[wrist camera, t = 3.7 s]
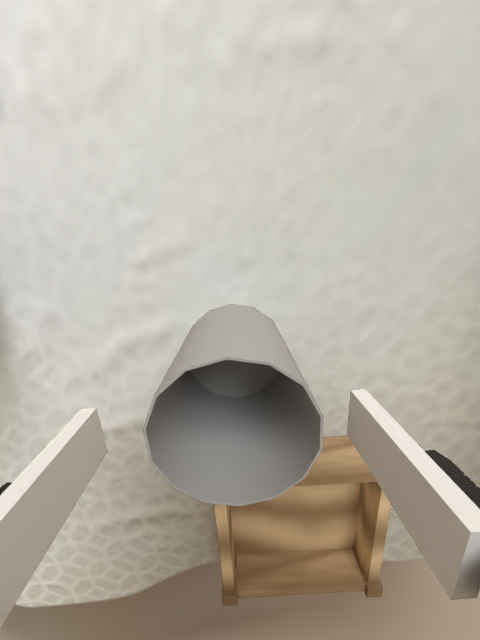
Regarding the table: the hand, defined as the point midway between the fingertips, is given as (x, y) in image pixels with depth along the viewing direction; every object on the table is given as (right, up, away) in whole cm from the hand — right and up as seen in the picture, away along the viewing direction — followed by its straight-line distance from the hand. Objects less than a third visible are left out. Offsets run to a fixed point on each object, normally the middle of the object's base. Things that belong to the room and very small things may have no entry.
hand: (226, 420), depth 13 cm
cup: (0, +3, +8) cm, 9 cm away
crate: (+6, -13, +13) cm, 20 cm away
